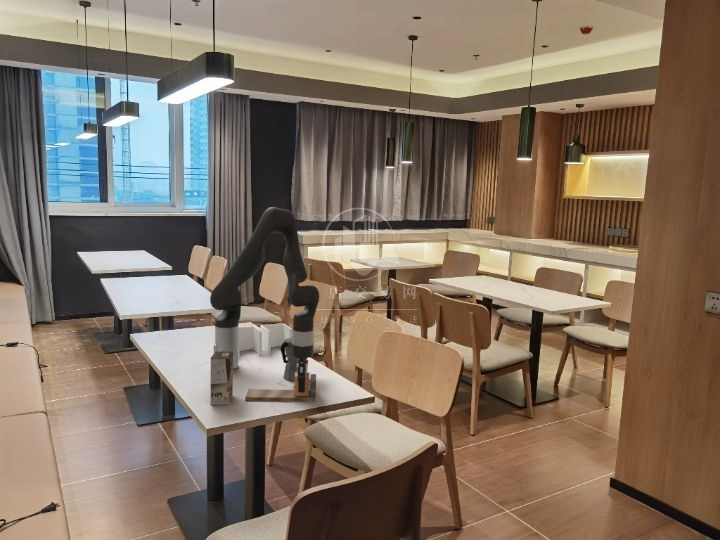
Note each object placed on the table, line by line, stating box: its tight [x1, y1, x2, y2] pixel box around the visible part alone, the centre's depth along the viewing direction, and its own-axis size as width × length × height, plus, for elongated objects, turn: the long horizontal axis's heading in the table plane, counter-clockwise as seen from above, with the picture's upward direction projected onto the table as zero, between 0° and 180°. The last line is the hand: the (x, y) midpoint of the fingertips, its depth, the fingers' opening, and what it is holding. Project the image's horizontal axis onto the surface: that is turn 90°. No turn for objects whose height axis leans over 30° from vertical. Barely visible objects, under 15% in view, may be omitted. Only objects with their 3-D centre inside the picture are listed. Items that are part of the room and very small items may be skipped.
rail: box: [245, 373, 317, 402], centre depth 202 cm, size 24×8×7 cm, turn 93°
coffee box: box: [209, 351, 234, 406], centre depth 197 cm, size 9×6×16 cm
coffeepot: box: [279, 338, 299, 382], centre depth 222 cm, size 15×9×18 cm, turn 147°
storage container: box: [238, 323, 293, 359], centre depth 257 cm, size 25×11×11 cm, turn 118°
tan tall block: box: [293, 371, 311, 396], centre depth 203 cm, size 5×4×7 cm
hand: (301, 389), depth 203 cm, fingers closed on tan tall block, 4 cm apart
